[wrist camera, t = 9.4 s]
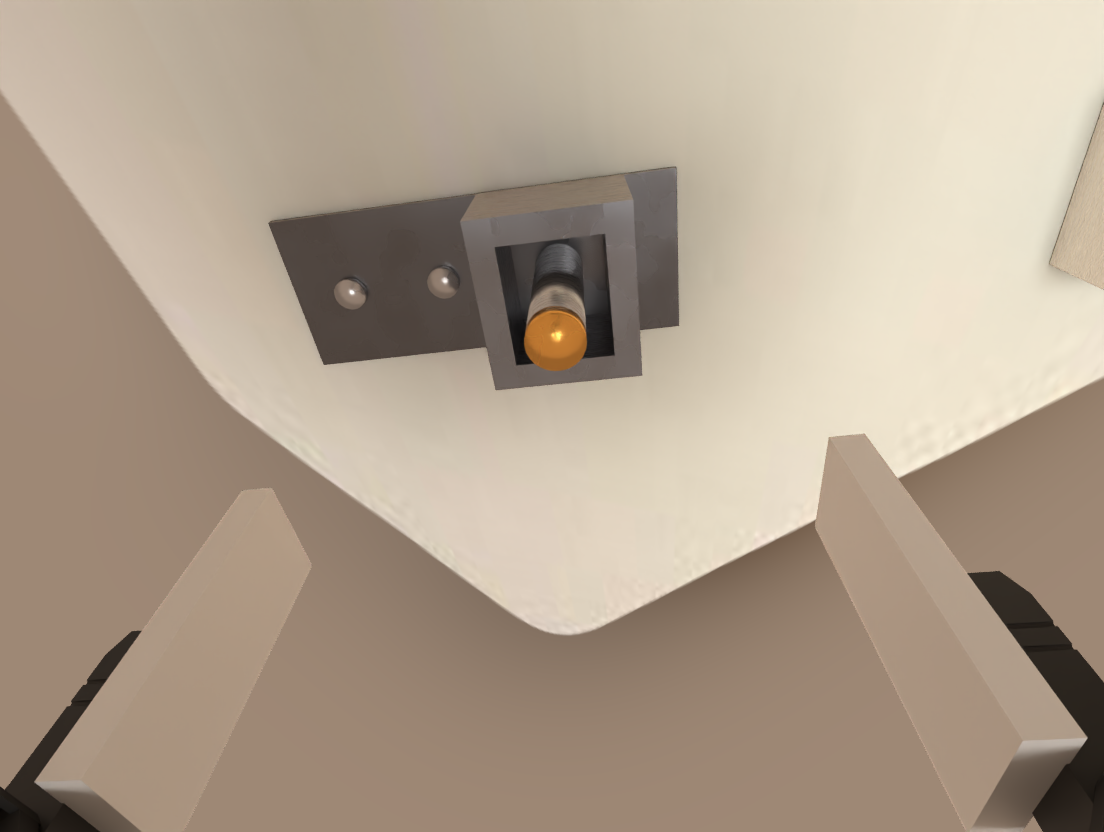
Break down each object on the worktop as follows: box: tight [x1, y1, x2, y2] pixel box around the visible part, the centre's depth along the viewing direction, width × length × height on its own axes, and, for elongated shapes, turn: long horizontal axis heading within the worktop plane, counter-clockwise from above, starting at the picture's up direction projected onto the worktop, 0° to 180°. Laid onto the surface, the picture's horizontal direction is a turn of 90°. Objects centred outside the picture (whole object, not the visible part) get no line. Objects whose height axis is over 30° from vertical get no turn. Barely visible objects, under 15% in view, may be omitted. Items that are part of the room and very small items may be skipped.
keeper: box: [269, 167, 679, 371], centre depth 26 cm, size 8×20×9 cm, turn 98°
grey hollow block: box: [460, 174, 642, 390], centre depth 28 cm, size 8×7×5 cm
